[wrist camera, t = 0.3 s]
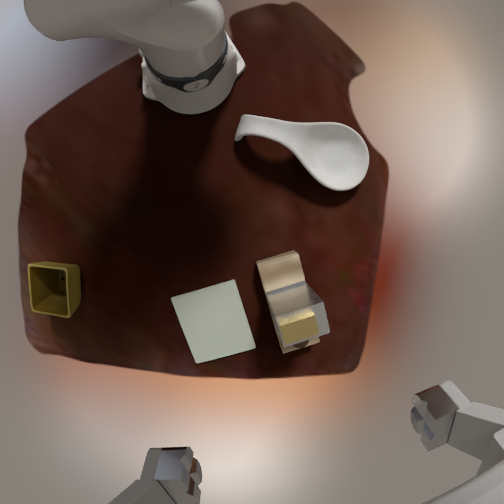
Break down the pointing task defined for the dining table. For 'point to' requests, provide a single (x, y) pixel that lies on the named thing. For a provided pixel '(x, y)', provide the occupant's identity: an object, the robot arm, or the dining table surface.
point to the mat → (214, 321)
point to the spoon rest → (316, 148)
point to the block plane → (283, 283)
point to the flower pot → (54, 288)
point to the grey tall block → (298, 314)
